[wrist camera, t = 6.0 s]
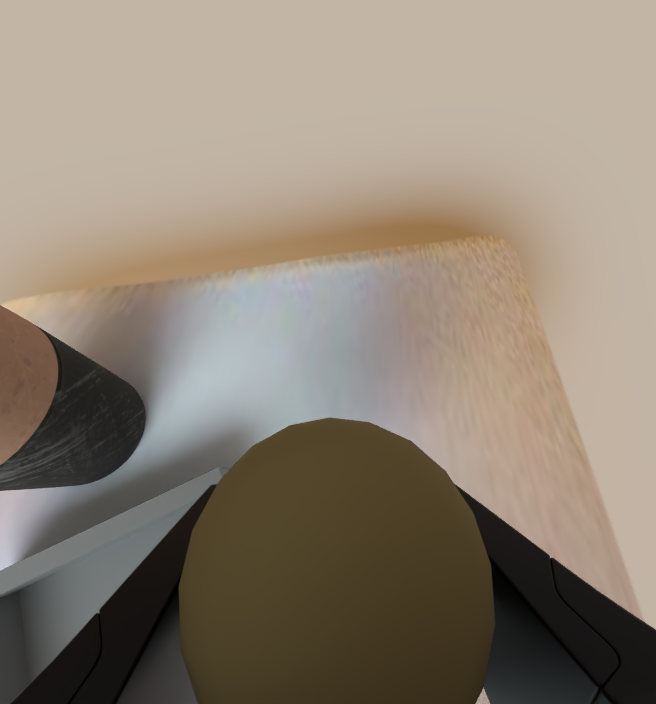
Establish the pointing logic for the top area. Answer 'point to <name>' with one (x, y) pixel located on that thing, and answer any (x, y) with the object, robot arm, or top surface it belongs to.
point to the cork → (336, 576)
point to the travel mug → (59, 412)
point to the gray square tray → (78, 581)
